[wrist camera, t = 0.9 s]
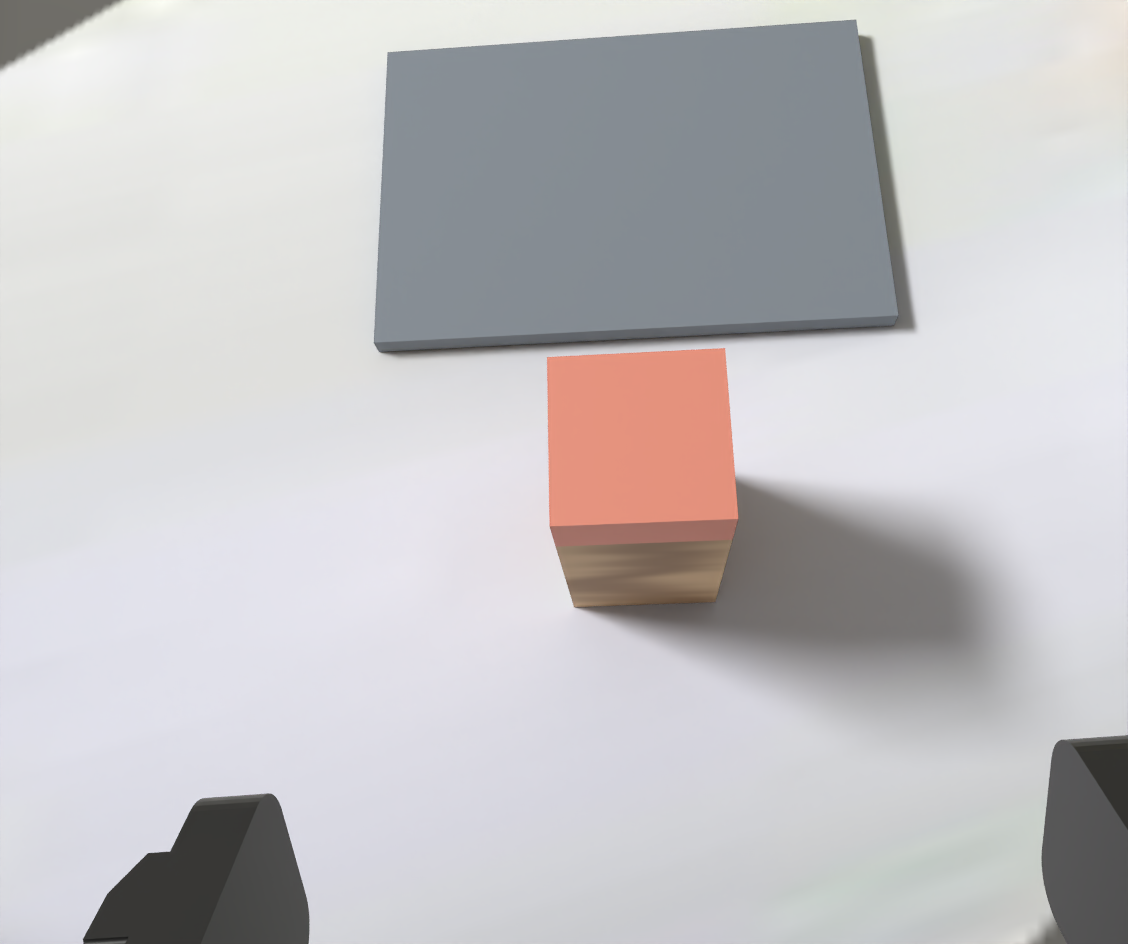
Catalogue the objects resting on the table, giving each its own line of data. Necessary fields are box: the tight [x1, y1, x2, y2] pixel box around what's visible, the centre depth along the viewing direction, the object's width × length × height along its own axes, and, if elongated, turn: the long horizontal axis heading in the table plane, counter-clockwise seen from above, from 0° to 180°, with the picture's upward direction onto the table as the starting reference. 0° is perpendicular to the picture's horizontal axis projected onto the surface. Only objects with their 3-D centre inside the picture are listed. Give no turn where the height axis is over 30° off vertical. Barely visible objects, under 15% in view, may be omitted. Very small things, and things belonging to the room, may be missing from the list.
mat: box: [374, 20, 898, 352], centre depth 43 cm, size 20×14×1 cm
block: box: [547, 348, 738, 607], centre depth 33 cm, size 5×5×10 cm
